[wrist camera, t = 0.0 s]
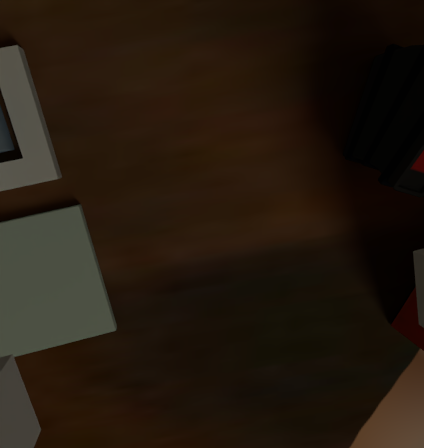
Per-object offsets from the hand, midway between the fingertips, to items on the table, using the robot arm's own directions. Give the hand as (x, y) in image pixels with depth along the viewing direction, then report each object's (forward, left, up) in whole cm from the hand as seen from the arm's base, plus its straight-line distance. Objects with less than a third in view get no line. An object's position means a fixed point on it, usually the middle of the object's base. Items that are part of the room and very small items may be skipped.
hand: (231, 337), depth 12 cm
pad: (+5, -17, -28) cm, 33 cm away
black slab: (-4, +22, -28) cm, 36 cm away
